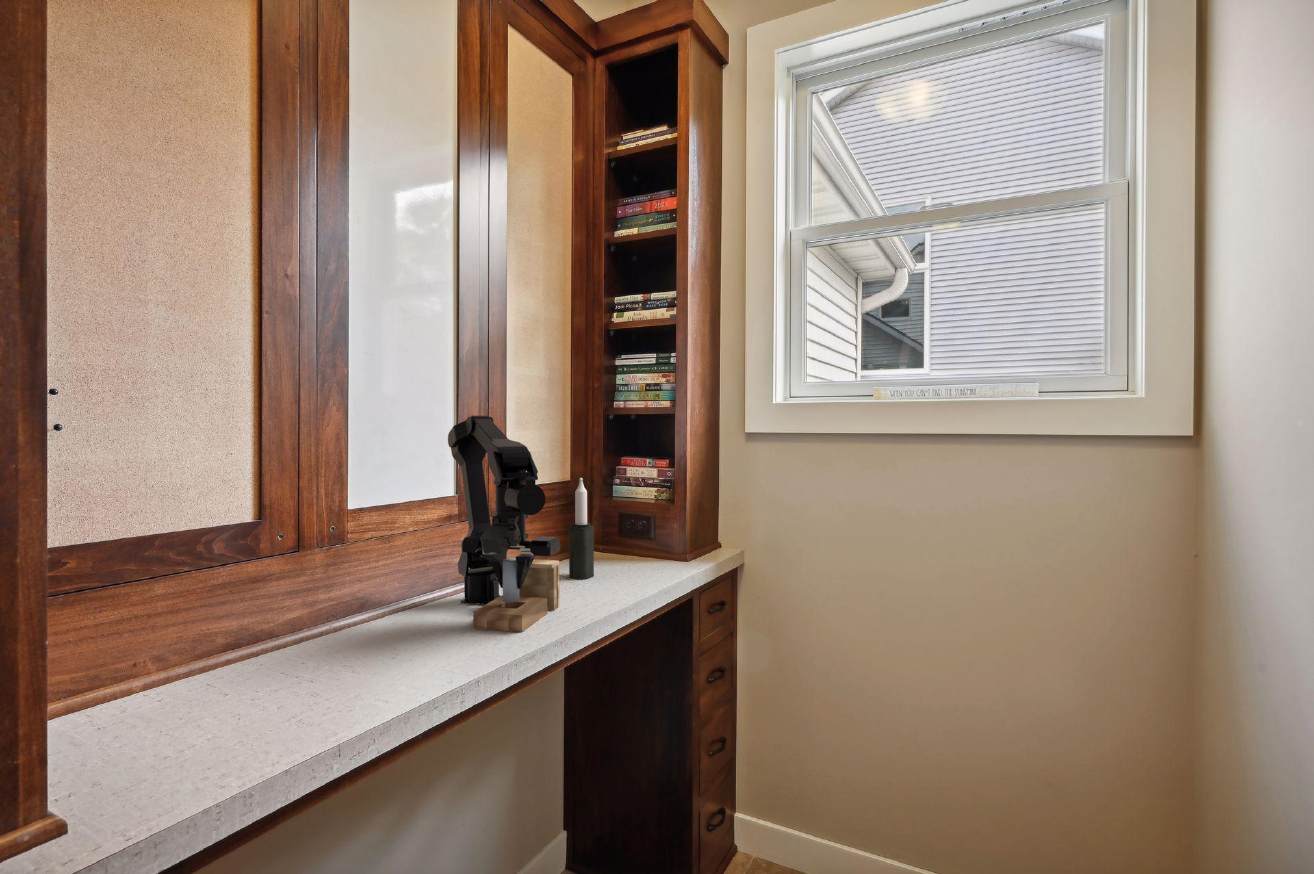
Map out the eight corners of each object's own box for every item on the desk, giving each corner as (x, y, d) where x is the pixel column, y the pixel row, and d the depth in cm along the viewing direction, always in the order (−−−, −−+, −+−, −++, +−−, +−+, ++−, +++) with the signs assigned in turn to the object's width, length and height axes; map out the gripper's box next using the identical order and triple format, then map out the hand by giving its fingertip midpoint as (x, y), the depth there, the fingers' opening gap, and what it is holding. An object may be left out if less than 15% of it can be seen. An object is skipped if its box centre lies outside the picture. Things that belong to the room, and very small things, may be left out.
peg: (500, 602, 130) (499, 561, 130) (507, 597, 133) (506, 557, 133) (515, 603, 130) (514, 562, 129) (522, 598, 133) (521, 558, 132)
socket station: (471, 628, 127) (470, 577, 127) (511, 603, 144) (511, 558, 144) (524, 632, 125) (524, 580, 124) (559, 606, 142) (559, 560, 141)
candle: (567, 577, 167) (566, 478, 167) (578, 573, 172) (578, 476, 171) (584, 580, 165) (583, 479, 164) (595, 575, 169) (595, 477, 169)
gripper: (445, 513, 125) (446, 596, 126) (538, 516, 121) (539, 602, 122) (474, 505, 136) (475, 581, 137) (561, 508, 132) (561, 586, 132)
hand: (511, 588), depth 132 cm, fingers closed on peg, 3 cm apart
